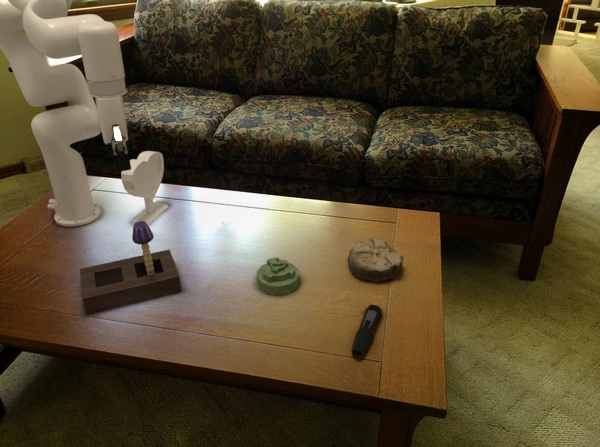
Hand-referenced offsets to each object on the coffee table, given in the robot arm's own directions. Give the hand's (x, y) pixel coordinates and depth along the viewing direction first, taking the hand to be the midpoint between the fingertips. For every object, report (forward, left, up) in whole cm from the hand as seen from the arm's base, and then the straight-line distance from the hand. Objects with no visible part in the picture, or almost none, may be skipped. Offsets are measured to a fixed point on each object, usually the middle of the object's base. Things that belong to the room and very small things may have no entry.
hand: (121, 161), depth 116 cm
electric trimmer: (+59, -12, -28) cm, 66 cm away
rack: (+3, -9, -28) cm, 30 cm away
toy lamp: (+6, -7, -28) cm, 30 cm away
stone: (+58, +12, -28) cm, 65 cm away
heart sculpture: (-9, +24, -28) cm, 38 cm away
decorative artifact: (+36, +1, -28) cm, 46 cm away
